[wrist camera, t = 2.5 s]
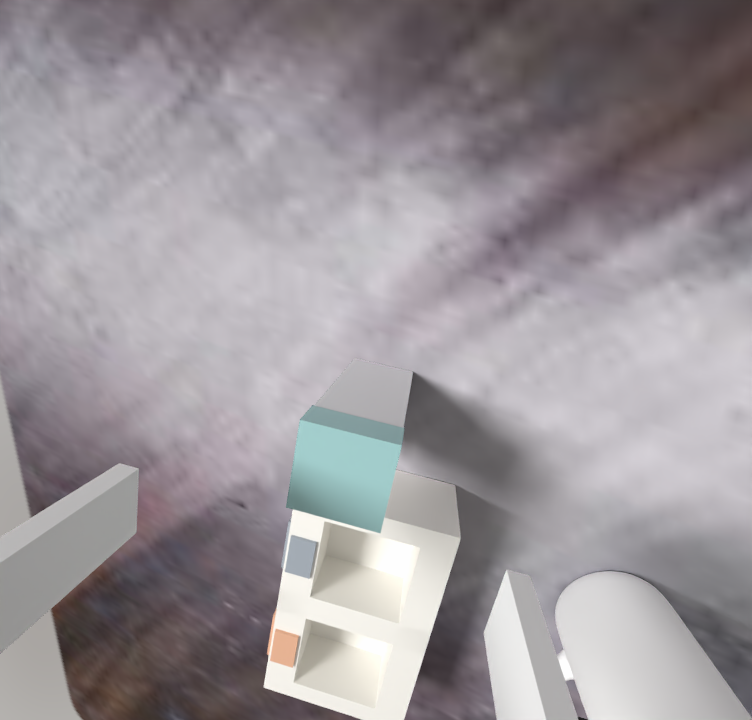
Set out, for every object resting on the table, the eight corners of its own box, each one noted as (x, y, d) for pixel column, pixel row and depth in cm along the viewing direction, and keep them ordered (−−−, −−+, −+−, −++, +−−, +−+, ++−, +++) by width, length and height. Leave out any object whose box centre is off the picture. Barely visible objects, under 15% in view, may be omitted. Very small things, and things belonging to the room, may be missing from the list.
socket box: (318, 449, 30) (290, 493, 24) (454, 484, 29) (461, 540, 23) (288, 617, 35) (259, 689, 29) (405, 652, 34) (399, 734, 28)
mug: (496, 618, 32) (528, 788, 21) (622, 547, 28) (731, 706, 18) (561, 684, 32) (622, 880, 22) (690, 622, 29) (833, 817, 19)
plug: (354, 357, 28) (299, 419, 16) (414, 371, 27) (401, 445, 16) (343, 412, 29) (286, 507, 17) (400, 426, 29) (380, 533, 17)
